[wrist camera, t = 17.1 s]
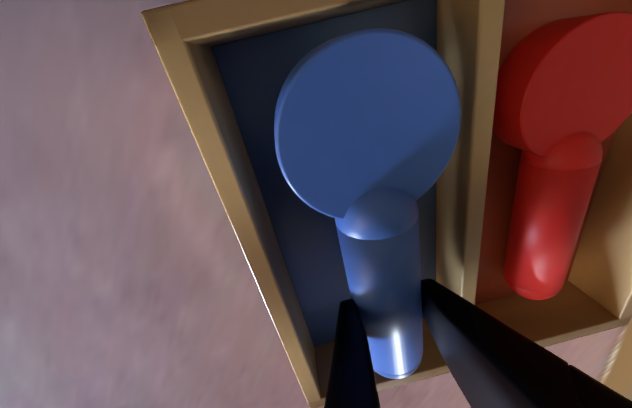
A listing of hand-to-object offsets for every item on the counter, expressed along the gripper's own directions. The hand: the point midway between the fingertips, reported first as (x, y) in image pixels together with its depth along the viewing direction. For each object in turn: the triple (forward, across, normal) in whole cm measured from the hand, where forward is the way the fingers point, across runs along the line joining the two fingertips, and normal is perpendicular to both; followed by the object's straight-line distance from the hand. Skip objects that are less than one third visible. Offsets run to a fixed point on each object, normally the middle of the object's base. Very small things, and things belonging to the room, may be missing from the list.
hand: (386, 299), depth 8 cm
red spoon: (+3, -7, -1) cm, 7 cm away
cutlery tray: (+4, -3, -1) cm, 5 cm away
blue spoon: (+1, 0, -2) cm, 2 cm away
